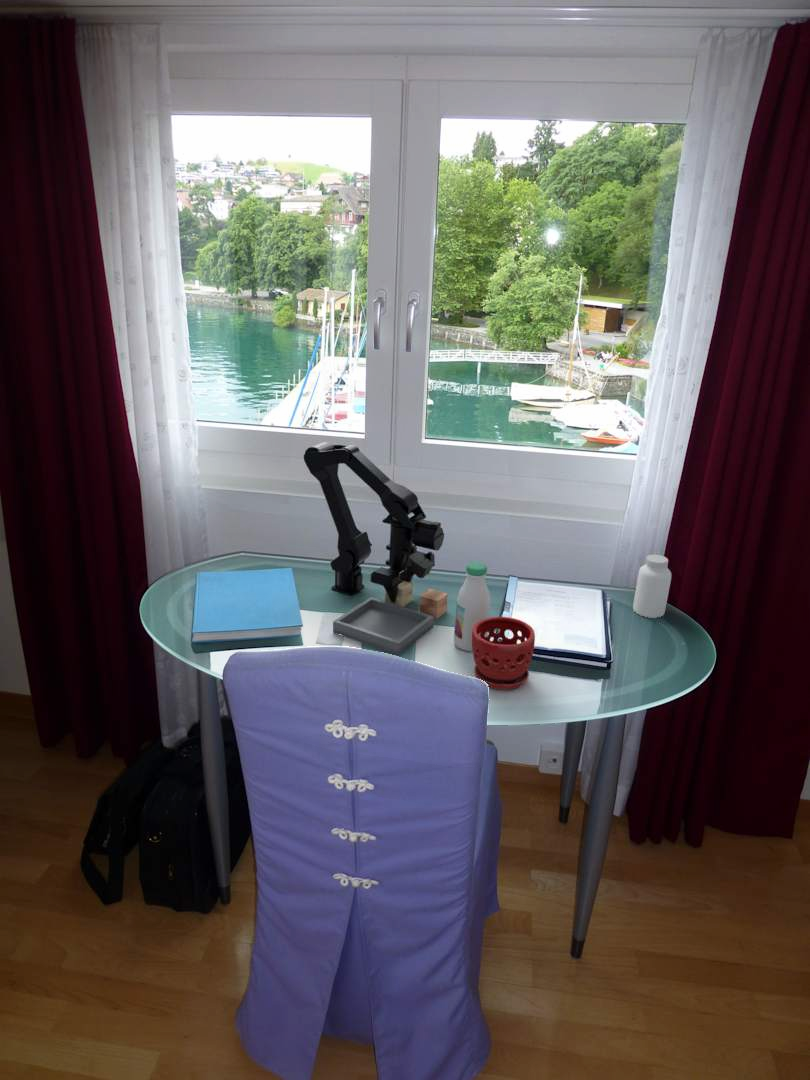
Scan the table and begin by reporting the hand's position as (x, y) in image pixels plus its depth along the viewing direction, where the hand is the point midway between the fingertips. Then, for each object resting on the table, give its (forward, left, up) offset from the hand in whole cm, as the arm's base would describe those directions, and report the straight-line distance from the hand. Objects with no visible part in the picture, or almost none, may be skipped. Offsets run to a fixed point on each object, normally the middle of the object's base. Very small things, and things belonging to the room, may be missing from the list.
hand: (398, 598), depth 207 cm
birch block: (0, 0, -1) cm, 1 cm away
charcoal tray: (+5, -15, -1) cm, 16 cm away
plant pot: (+37, -19, -1) cm, 42 cm away
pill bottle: (+55, +33, -1) cm, 64 cm away
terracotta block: (+10, 0, -1) cm, 10 cm away
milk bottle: (+25, -9, -1) cm, 27 cm away
